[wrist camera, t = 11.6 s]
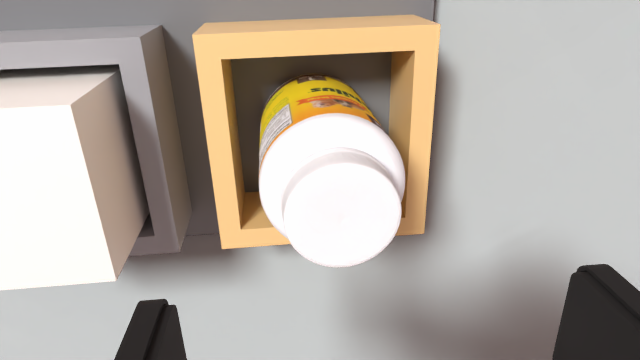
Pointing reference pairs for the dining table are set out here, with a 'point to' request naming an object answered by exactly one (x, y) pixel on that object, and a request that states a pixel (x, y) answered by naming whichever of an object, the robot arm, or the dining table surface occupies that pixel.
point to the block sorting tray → (180, 119)
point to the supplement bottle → (328, 172)
